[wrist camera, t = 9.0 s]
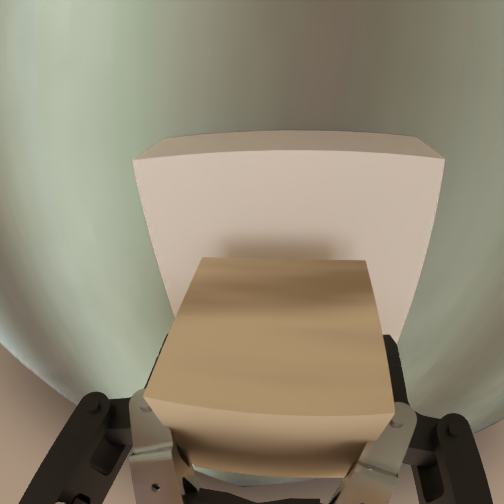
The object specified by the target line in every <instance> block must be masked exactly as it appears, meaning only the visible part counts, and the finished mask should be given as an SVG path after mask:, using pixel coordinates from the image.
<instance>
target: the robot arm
mask: <svg viewBox="0 0 504 504" xmlns="http://www.w3.org/2000/svg"><path fill="white" fill-rule="evenodd" d="M168 334H169V333H168ZM168 334H167V335H166V338H167V336H168ZM166 338H165V340H164V342H163V345H162V347H161V349H160V352H159V355H160V353H161V350H162V348H163V346H164V343H165V341H166ZM383 339H384V344H385V350H386V355H387V361H388V367H389V373H390V379H391V386H392V392H393V399H394V407H395V414H394V416H393V417H392V419H391V420H390V422H389V423H388V425H387V426H386V428H385V429H384V431H383V432H382V433H381V435H380V436H379V438H378V439H377V440H375V441H367V443H366V444H365V446H364V447H363V449H362V451H361V453H360V455H359V457H358V459H357V461H353V463H352V464H351V466H350V468H349V469H348V471H347V473H346V475H345V477H344V479H343V480H342V482H341V484H340V485H339V487H338V488H337V490H336V492H335V493H334V495H333V496H332V498H331V500H330V501H329V503H328V504H388V502H389V500H390V498H391V496H392V493H393V491H394V489H395V487H396V485H397V482H398V471H399V468H400V466H401V463H405V464H409V465H411V467H412V471H413V476H414V480H415V485H416V489H417V494H418V499H419V504H493V502H492V497H491V493H490V489H489V486H488V482H487V478H486V475H485V471H484V468H483V465H482V461H481V458H480V455H479V452H478V449H477V446H476V443H475V440H474V437H473V434H472V431H471V428H470V425H469V423H468V421H467V420H466V419H465V418H464V417H463V416H462V415H460V414H456V413H451V414H447V415H445V416H444V417H443V418H441V419H437V418H432V417H427V416H423V415H420V414H418V413H417V412H415V411H414V410H413V408H412V407H411V406H410V405H409V402H408V399H407V394H406V388H405V382H404V377H403V372H402V367H401V361H400V358H399V352H398V347H397V344H396V342H395V341H394V340H393V338H392V337H391V335H390V334H387V335H383ZM158 358H159V356H158V357H157V359H156V361H155V364H154V366H153V369H152V371H151V374H150V376H149V378H148V381H147V383H146V385H145V387H144V389H141V390H139V391H137V392H136V393H134V394H133V396H132V397H130V398H122V399H108V398H107V396H106V395H105V394H103V393H101V392H91V393H89V394H87V395H85V396H84V397H83V398H82V400H81V401H80V403H79V404H78V406H77V407H76V409H75V411H74V412H73V413H72V415H71V416H70V418H69V420H68V421H67V423H66V424H65V426H64V428H63V429H62V431H61V432H60V434H59V436H58V437H57V439H56V441H55V442H54V444H53V446H52V447H51V448H50V450H49V452H48V454H47V455H46V457H45V458H44V460H43V462H42V463H41V465H40V467H39V469H38V471H37V472H36V474H35V476H34V477H33V479H32V481H31V483H30V484H29V486H28V488H27V489H26V491H25V493H24V495H23V497H22V498H21V500H20V502H19V504H102V503H103V501H104V499H105V497H106V495H107V493H108V491H109V489H110V488H111V486H112V484H113V482H114V480H115V478H116V476H117V474H118V472H119V470H120V469H121V467H122V465H123V463H124V461H125V459H126V457H127V455H128V453H129V452H130V450H131V448H132V446H133V447H134V452H133V454H131V456H130V469H131V476H132V482H133V488H134V493H135V498H136V504H321V503H320V499H292V498H289V499H283V500H278V501H271V502H264V503H255V502H252V501H249V500H247V499H244V498H241V497H238V496H236V495H233V494H230V493H227V492H220V491H214V490H209V489H203V488H201V487H200V484H199V481H198V479H197V476H196V474H195V472H194V469H193V466H192V462H191V459H190V455H189V453H188V451H187V450H186V449H182V448H180V447H179V446H178V444H177V443H176V441H175V436H174V432H173V431H172V430H171V428H170V427H167V426H163V425H162V423H161V422H160V420H159V419H158V418H157V416H156V415H155V413H154V412H153V411H152V409H151V408H150V406H149V405H148V403H147V402H146V400H145V399H144V397H143V395H144V392H145V390H146V387H147V385H148V382H149V380H150V377H151V375H152V372H153V370H154V367H155V365H156V363H157V360H158Z"/></svg>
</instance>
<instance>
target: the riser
mask: <svg viewBox="0 0 504 504" xmlns="http://www.w3.org/2000/svg"><path fill="white" fill-rule="evenodd" d="M132 163H133V168H134V173H135V177H136V182H137V186H138V190H139V195H140V199H141V203H142V207H143V211H144V215H145V219H146V223H147V227H148V230H149V234H150V238H151V241H152V245H153V249H154V252H155V256H156V259H157V263H158V266H159V269H160V273H161V276H162V279H163V283H164V286H165V289H166V292H167V296H168V299H169V302H170V305H171V308H172V311H173V314H174V317H176V315H177V313H178V310H179V308H180V306H181V303H182V301H183V299H184V297H185V294H186V292H187V290H188V288H189V285H190V283H191V281H192V279H193V276H194V274H195V272H196V270H197V267H198V265H199V263H200V261H201V259H202V257H214V258H261V259H314V260H366V264H367V268H368V272H369V276H370V280H371V284H372V288H373V293H374V297H375V301H376V306H377V310H378V315H379V319H380V324H381V329H382V334H383V335H387V334H390V335H391V337H392V338H393V340H394V341H395V342H396V344H397V342H398V340H399V337H400V334H401V332H402V329H403V326H404V323H405V321H406V318H407V315H408V312H409V309H410V306H411V303H412V300H413V297H414V294H415V291H416V287H417V284H418V281H419V278H420V274H421V271H422V267H423V264H424V260H425V256H426V252H427V249H428V245H429V241H430V236H431V232H432V228H433V223H434V219H435V214H436V209H437V204H438V199H439V194H440V188H441V182H442V176H443V170H444V163H445V159H444V158H443V157H442V156H440V155H439V154H438V153H437V152H435V151H434V150H433V149H431V148H430V147H429V146H428V145H426V144H425V143H424V142H422V141H421V140H419V139H418V138H417V137H414V136H404V135H394V134H382V133H368V132H349V131H319V130H278V131H247V132H229V133H214V134H202V135H191V136H181V137H172V138H164V139H163V140H161V141H160V142H158V143H157V144H155V145H154V146H152V147H151V148H149V149H148V150H146V151H145V152H143V153H142V154H140V155H139V156H137V157H136V158H134V159H133V160H132Z"/></svg>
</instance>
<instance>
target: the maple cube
mask: <svg viewBox="0 0 504 504" xmlns="http://www.w3.org/2000/svg"><path fill="white" fill-rule="evenodd" d="M143 397H144V399H145V400H146V402H147V403H148V405H149V406H150V408H151V409H152V411H153V412H154V413H155V415H156V416H157V418H158V419H159V420H160V422H161V423H162V425H163V426H167V427H170V428H171V430H172V431H173V432H174V436H175V441H176V443H177V444H178V446H179V447H180V448H182V449H186V450H187V451H188V453H189V455H190V459H191V462H192V463H193V464H194V465H195V466H196V467H201V468H207V469H213V470H219V471H226V472H234V473H242V474H251V475H261V476H274V477H294V478H339V477H345V475H346V473H347V471H348V469H349V468H350V466H351V464H352V463H353V461H357V459H358V457H359V455H360V453H361V451H362V449H363V447H364V446H365V444H366V443H367V441H375V440H377V439H378V438H379V436H380V435H381V433H382V432H383V431H384V429H385V428H386V426H387V425H388V423H389V422H390V420H391V419H392V417H393V416H394V414H395V407H394V399H393V392H392V386H391V379H390V373H389V367H388V361H387V355H386V350H385V344H384V339H383V334H382V329H381V324H380V319H379V315H378V310H377V306H376V301H375V297H374V293H373V288H372V284H371V280H370V276H369V272H368V268H367V264H366V260H314V259H261V258H214V257H202V259H201V261H200V263H199V265H198V267H197V270H196V272H195V274H194V276H193V279H192V281H191V283H190V285H189V288H188V290H187V292H186V294H185V297H184V299H183V301H182V303H181V306H180V308H179V310H178V313H177V315H176V317H175V320H174V322H173V324H172V327H171V329H170V331H169V334H168V336H167V338H166V341H165V343H164V346H163V348H162V350H161V353H160V355H159V358H158V360H157V363H156V365H155V367H154V370H153V372H152V375H151V377H150V380H149V382H148V385H147V387H146V390H145V392H144V395H143Z"/></svg>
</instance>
